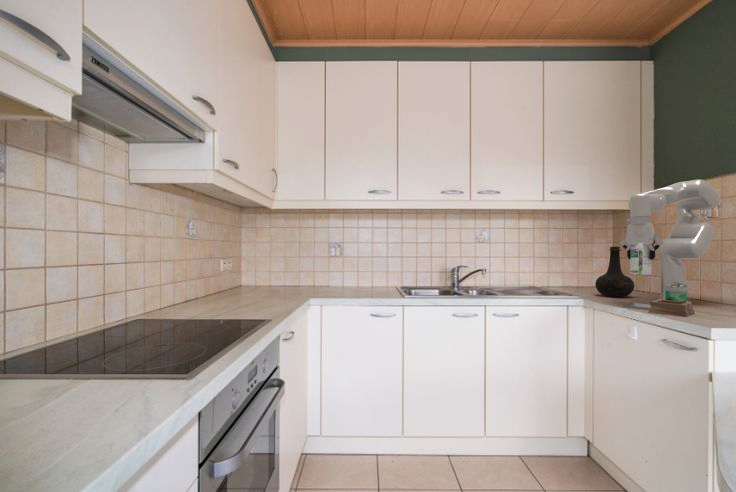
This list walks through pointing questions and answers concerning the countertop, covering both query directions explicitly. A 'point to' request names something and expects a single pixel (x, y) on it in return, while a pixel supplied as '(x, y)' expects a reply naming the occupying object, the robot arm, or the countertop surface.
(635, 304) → the plate
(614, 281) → the glass bottle
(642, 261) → the syrup box
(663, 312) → the socket
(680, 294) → the food container
